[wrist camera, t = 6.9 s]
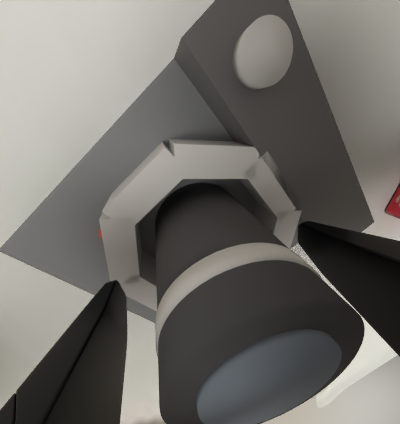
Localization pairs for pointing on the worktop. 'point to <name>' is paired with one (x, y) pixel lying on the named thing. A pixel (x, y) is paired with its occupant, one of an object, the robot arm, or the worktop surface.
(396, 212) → the ink box
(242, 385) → the lens
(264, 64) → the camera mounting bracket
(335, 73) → the worktop surface
